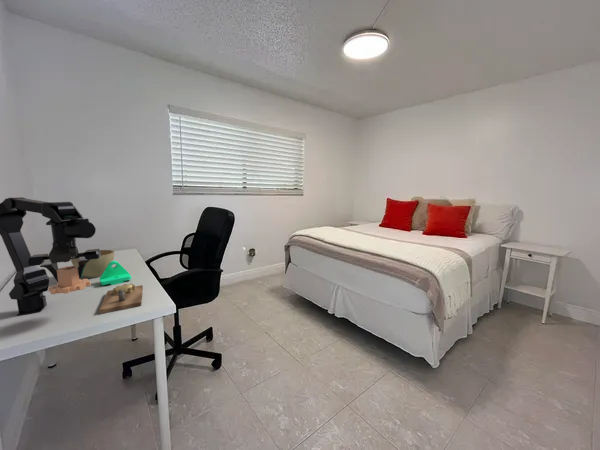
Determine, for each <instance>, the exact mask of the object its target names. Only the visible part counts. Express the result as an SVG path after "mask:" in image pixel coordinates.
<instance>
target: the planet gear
mask: <svg viewBox="0 0 600 450" xmlns="http://www.w3.org/2000/svg"><path fill="white" fill-rule="evenodd" d="M57 277H58V282H57V283H56V284H55V285H52V286H48V292H49V294H50V295H56V294H70V293H71V292H76V291H82V290H84V289H85V288H87V287H89V286H91V285H92V281H91V280H89V278H83V279H82V278H81V279H79V266H73V265H68V266H64V267H60V268H59V267H58V269H57Z"/></svg>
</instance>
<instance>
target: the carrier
mask: <svg viewBox="0 0 600 450" xmlns="http://www.w3.org/2000/svg"><path fill="white" fill-rule="evenodd" d="M143 289H144V286H143V284H140V285H135V284H134V283H130V284H129V283H128V284H126V283H125V284H123V283H122V285H117V286H115V287H113V289H111V290H107V291H106V294H105V295H104V298H103V300H102V303H101V305H100V307H99V310H98V313H99V314H100V315H101V314H107V313H111V312H115V311H121V310H125V309H130V308H132V309H133V308H137V307H141V306H142V303H143V299H142V298H143V292H142V291H144V290H143Z"/></svg>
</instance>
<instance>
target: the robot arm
mask: <svg viewBox="0 0 600 450" xmlns="http://www.w3.org/2000/svg"><path fill="white" fill-rule="evenodd" d="M27 212H32V213H37V214H41V215H42V217H44V218H46V219H49V220H48V221H47V222H46V223H45V225H46V226H50V229H51V235H52V248H51V250H50V252H49V253H39V254H33V255H31V253H30V250H29V248H28V245H27V243H26V241H25V239H24V236H23V234H22V231H21V230H22V228H23V225H24V220H23V219H24V218H25V217H26V215H27ZM96 230H97V229H96V226H95V225H94V224H93V223H92V222H90V221H89V218H84V217H83V215H82V214H81V213H80V211H78V209H77V208H76V206H75V205H74V203H73V202H71V201H57V202H56V201H55V202H54V201H53V202H49V201H42V200H37V199H31V198H25V197H8V198H7V197H6V198H5V199H4V200H3V201H2V202H0V236H1V239H2V241H3V243H4V246H5V248H6V250H7V252H8V255H9V258H10V260H11V262H12V264H13V267H14V269H15V272H16V273H15V275H14V277H13V278H14V279H12V280H13V281H12V282H13V284H14V286H12V289H11V290H10V292H9V293H8V296H9V297H10V299H11V300H15V301H16V304H17V309H18V310H17V311H18V312H17V313H16V316H22V315H28V314H33V313H34V314H35V313H40V312H42V311H43V310H44V309H45V308H46V307H47V297H46V295H44V293H45V292H49V287H50V286H49V285H50V277H49V276H48V273H47V270H48V271H49V273H50V274H51V275H52V276H53V278H54V279H55V280H56V282H57V283H58V277H57V269H59V267H58V263H69V262H70V261H71V259H75V258H80V261H79V262H78V264H79V279H81V280H82V278H83V272H84V268H85V266H86V264H87V262H89V261H90V260H91V259H98V258H100V256H101V250H102V249H99V248H95V249H87V250H85V251H83V252H84V253H81V252H79V249H78V247H77V241H76V239H90V238H92V237H94V235H95V234H96V232H97V231H96ZM37 266H39V267H40V268H41V269H40V268H39V267H37ZM44 268H45V269H44Z"/></svg>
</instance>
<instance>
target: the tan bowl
mask: <svg viewBox="0 0 600 450" xmlns="http://www.w3.org/2000/svg"><path fill="white" fill-rule="evenodd" d="M100 250H101V256H100V258H98V259H91V260H90V261H89V262H87V264H86V266H85V268H84V272H83V275H82V277H84V278H85V279H93V278H98V277H99V278H100V277H101V275H102V274H103V272H104V270H105V269H106V267H107V266H108V264H109V263H110V262H111V261H114V260H115V259H114V257H115V251H114V250H112V249H111V250H110V249H100ZM84 252H85V251H82V252H80V253H84ZM70 261H71V264H72V266H79V264H78V262H79V261H80V258H75V259H71V260H70Z"/></svg>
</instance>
